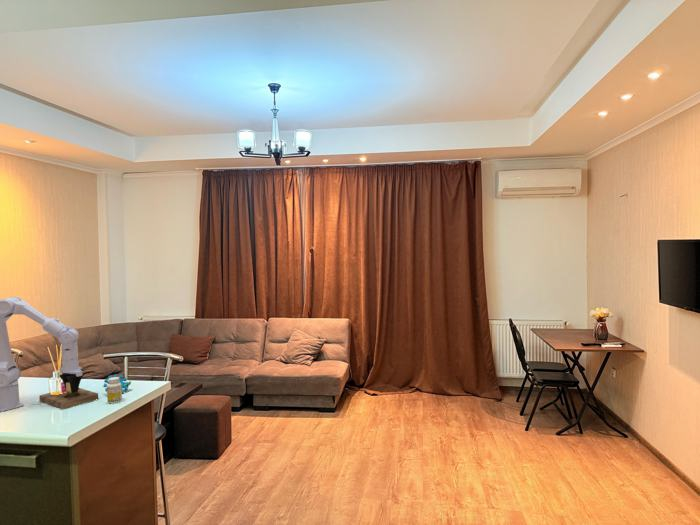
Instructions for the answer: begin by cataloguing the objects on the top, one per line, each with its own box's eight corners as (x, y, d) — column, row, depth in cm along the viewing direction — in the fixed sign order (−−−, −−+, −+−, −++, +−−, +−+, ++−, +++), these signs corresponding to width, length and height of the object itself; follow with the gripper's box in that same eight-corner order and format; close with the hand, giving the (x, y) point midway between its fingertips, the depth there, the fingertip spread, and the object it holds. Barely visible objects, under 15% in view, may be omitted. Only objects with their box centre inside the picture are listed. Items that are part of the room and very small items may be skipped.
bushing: (64, 396, 197) (64, 382, 196) (75, 393, 200) (74, 379, 200) (69, 398, 194) (68, 383, 194) (79, 395, 198) (79, 381, 197)
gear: (104, 394, 200) (103, 373, 206) (101, 401, 204) (100, 381, 209) (132, 392, 207) (130, 372, 213) (129, 399, 210) (127, 380, 216)
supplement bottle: (118, 403, 193) (116, 380, 192) (104, 404, 193) (103, 380, 192) (124, 399, 198) (123, 376, 198) (111, 399, 198) (110, 376, 198)
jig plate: (39, 401, 199) (39, 395, 199) (74, 392, 210) (74, 386, 210) (62, 409, 187) (62, 403, 187) (98, 399, 199) (98, 393, 199)
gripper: (89, 358, 196) (91, 391, 196) (71, 354, 204) (73, 386, 204) (71, 362, 190) (73, 396, 190) (53, 358, 198) (55, 390, 199)
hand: (72, 391), depth 197 cm, fingers closed on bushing, 4 cm apart
